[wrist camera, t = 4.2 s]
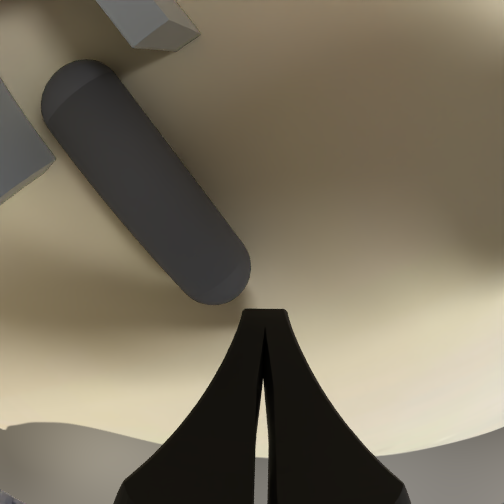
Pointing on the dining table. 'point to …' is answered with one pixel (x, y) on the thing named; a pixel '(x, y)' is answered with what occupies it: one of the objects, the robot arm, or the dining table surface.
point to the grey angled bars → (138, 36)
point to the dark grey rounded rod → (144, 181)
